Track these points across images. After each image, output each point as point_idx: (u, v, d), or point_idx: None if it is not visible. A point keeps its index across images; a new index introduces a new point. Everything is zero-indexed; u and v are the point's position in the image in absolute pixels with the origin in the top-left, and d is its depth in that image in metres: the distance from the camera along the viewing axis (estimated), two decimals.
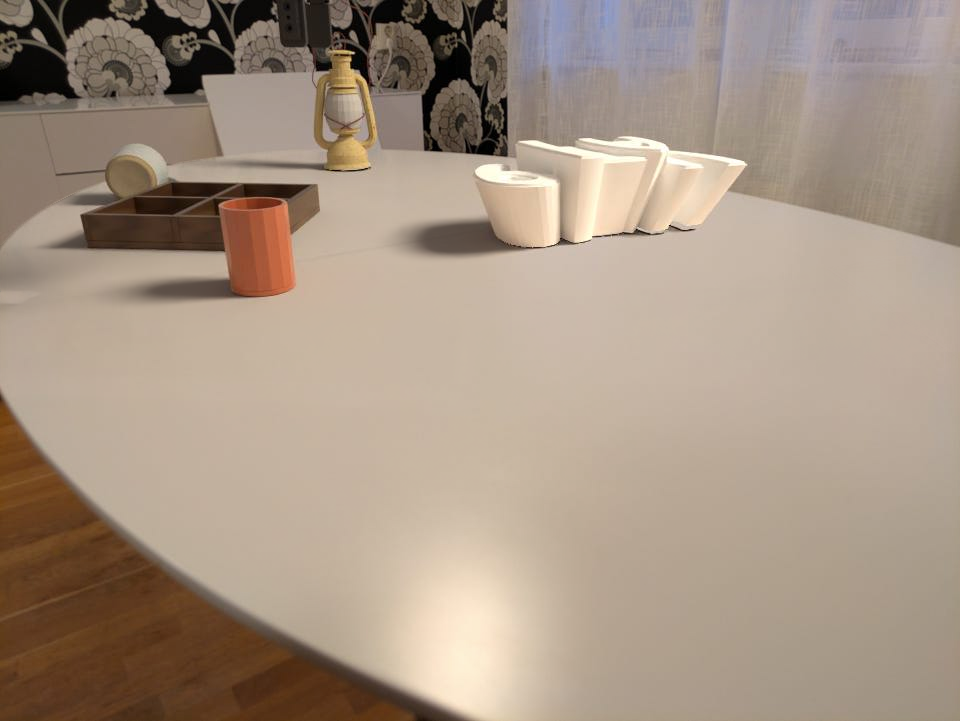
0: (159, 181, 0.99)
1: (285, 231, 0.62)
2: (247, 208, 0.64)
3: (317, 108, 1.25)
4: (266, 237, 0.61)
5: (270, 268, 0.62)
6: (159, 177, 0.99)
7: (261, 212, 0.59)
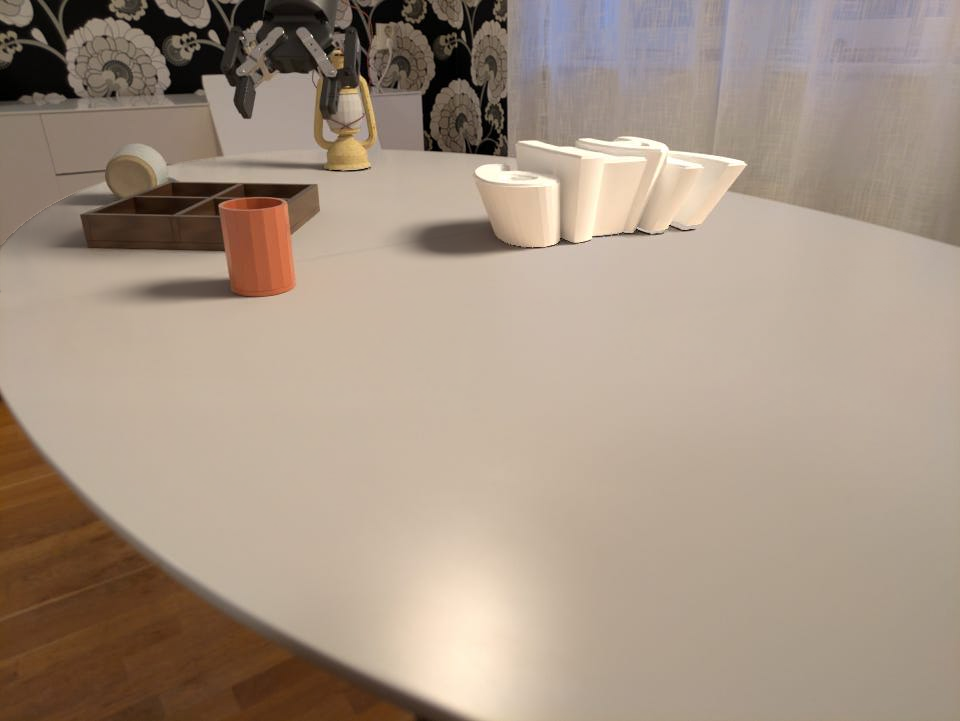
0: (159, 181, 0.99)
1: (285, 231, 0.62)
2: (247, 208, 0.64)
3: (317, 108, 1.25)
4: (266, 237, 0.61)
5: (270, 268, 0.62)
6: (159, 177, 0.99)
7: (261, 212, 0.59)
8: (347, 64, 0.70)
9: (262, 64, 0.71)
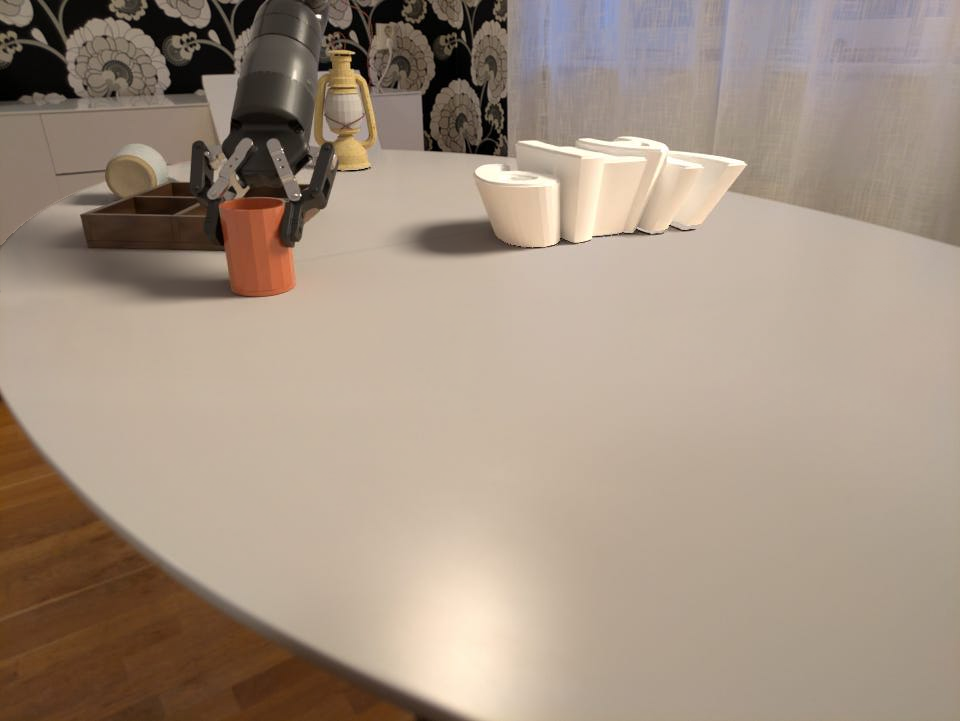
0: (159, 181, 0.99)
1: None
2: (247, 208, 0.64)
3: (317, 108, 1.25)
4: (266, 237, 0.61)
5: (270, 268, 0.62)
6: (159, 177, 0.99)
7: (261, 212, 0.59)
8: (313, 186, 0.62)
9: (234, 181, 0.63)
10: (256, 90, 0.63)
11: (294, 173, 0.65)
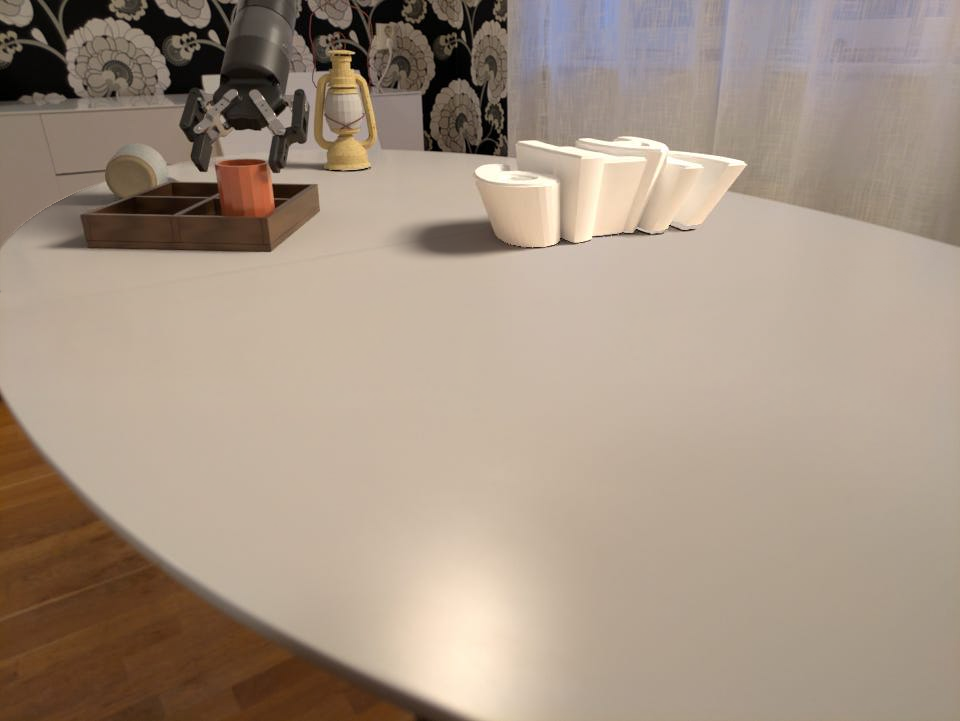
0: (159, 181, 0.99)
1: (267, 184, 0.78)
2: None
3: (317, 108, 1.25)
4: (252, 188, 0.76)
5: (255, 213, 0.77)
6: (159, 177, 0.99)
7: (248, 168, 0.75)
8: (295, 123, 0.77)
9: (218, 122, 0.78)
10: (241, 50, 0.78)
11: None
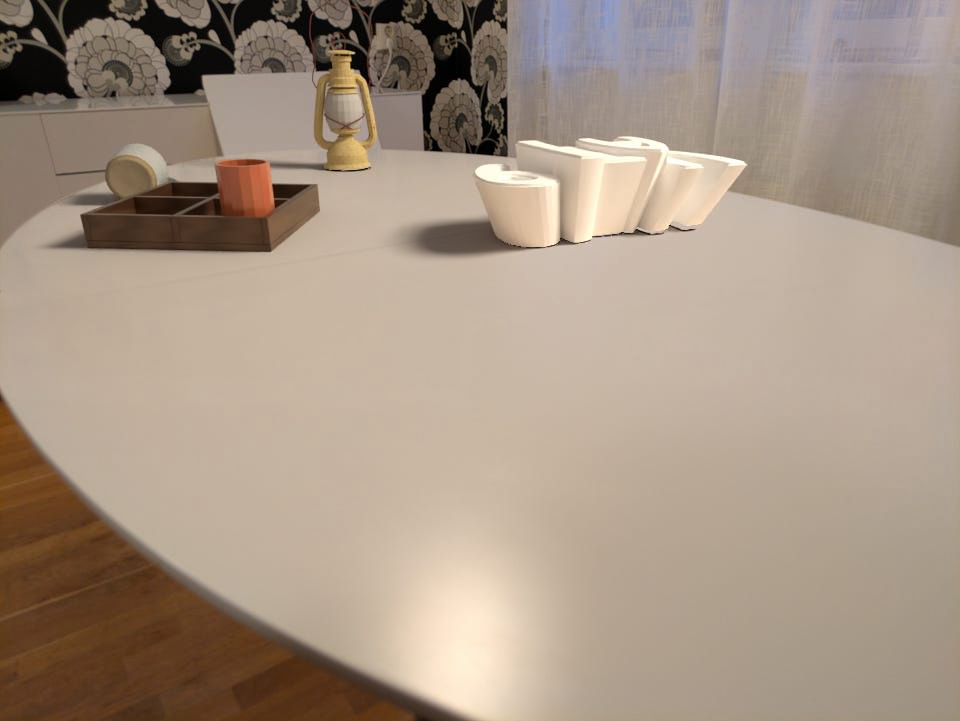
0: (159, 181, 0.99)
1: (267, 184, 0.78)
2: None
3: (317, 108, 1.25)
4: (252, 188, 0.76)
5: (255, 213, 0.77)
6: (159, 177, 0.99)
7: (248, 168, 0.75)
8: None
9: None
10: None
11: None
